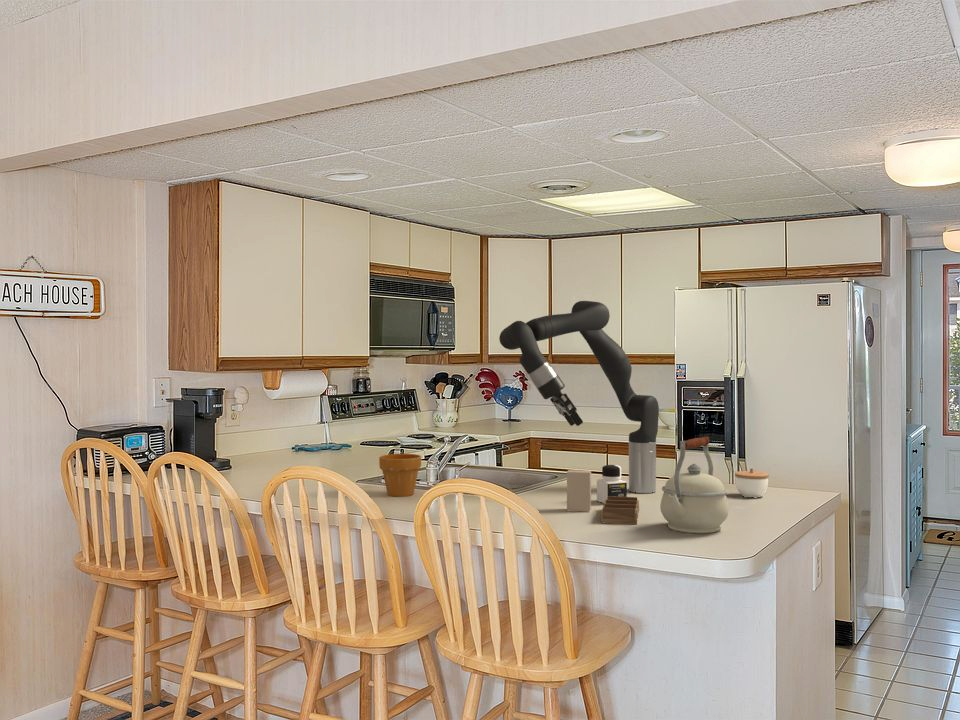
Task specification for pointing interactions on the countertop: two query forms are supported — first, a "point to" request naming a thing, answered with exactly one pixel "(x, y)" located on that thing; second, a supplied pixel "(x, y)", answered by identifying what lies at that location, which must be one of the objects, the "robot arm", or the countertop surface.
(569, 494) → the tall beige block
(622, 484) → the medicine bottle
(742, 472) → the lidded jar
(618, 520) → the rack
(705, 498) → the kettle
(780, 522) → the countertop surface
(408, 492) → the flower pot
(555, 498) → the countertop surface
